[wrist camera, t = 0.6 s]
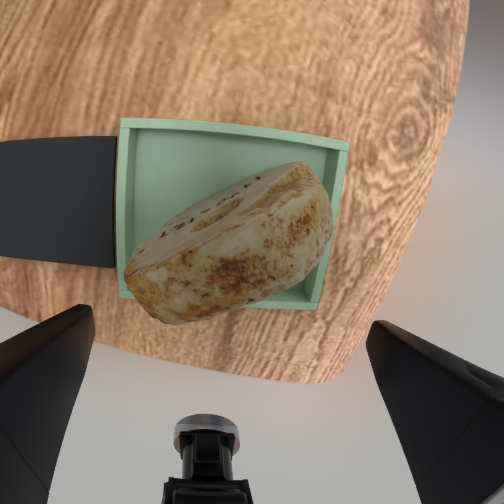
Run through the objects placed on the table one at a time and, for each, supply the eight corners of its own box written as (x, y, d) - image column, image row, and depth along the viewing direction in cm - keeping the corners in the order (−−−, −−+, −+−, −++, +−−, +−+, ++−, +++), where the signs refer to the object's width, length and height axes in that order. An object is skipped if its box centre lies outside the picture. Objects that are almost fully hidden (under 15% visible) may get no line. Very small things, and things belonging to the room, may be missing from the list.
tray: (307, 293, 23) (316, 310, 21) (127, 281, 21) (119, 298, 19) (334, 140, 19) (350, 142, 17) (132, 119, 17) (120, 117, 15)
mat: (115, 266, 21) (113, 268, 20) (-8, 253, 19) (-11, 254, 19) (117, 136, 18) (115, 136, 17) (-15, 143, 16) (-18, 144, 16)
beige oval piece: (169, 271, 21) (141, 371, 12) (141, 224, 19) (86, 300, 10) (310, 205, 20) (384, 264, 11) (288, 152, 19) (356, 171, 10)
